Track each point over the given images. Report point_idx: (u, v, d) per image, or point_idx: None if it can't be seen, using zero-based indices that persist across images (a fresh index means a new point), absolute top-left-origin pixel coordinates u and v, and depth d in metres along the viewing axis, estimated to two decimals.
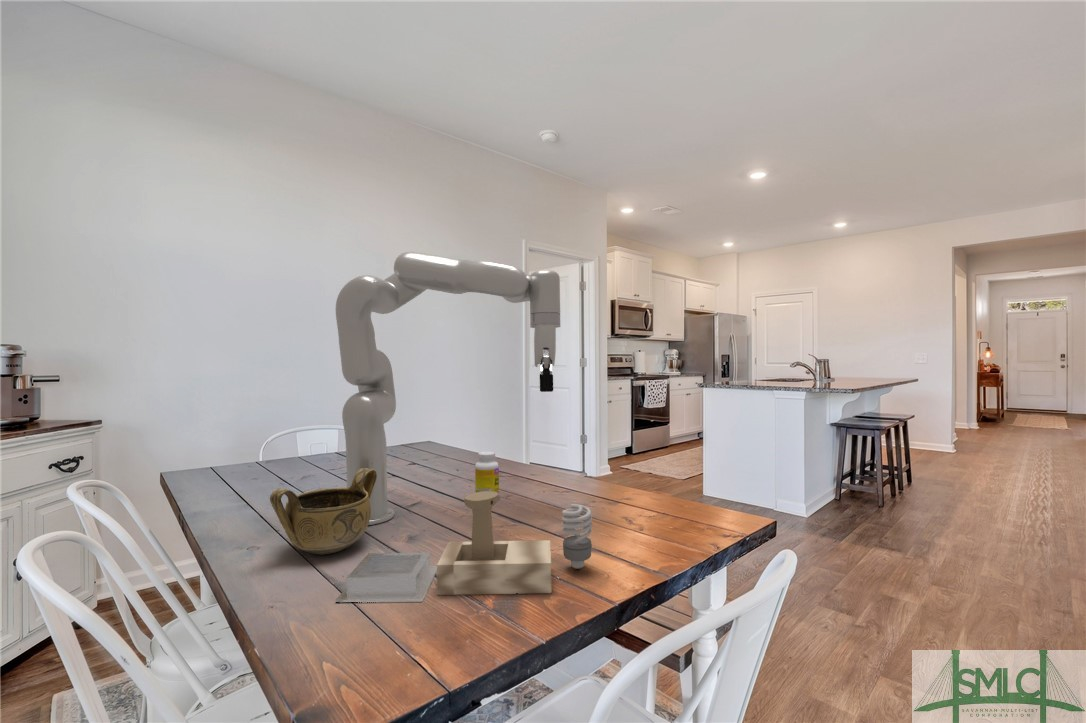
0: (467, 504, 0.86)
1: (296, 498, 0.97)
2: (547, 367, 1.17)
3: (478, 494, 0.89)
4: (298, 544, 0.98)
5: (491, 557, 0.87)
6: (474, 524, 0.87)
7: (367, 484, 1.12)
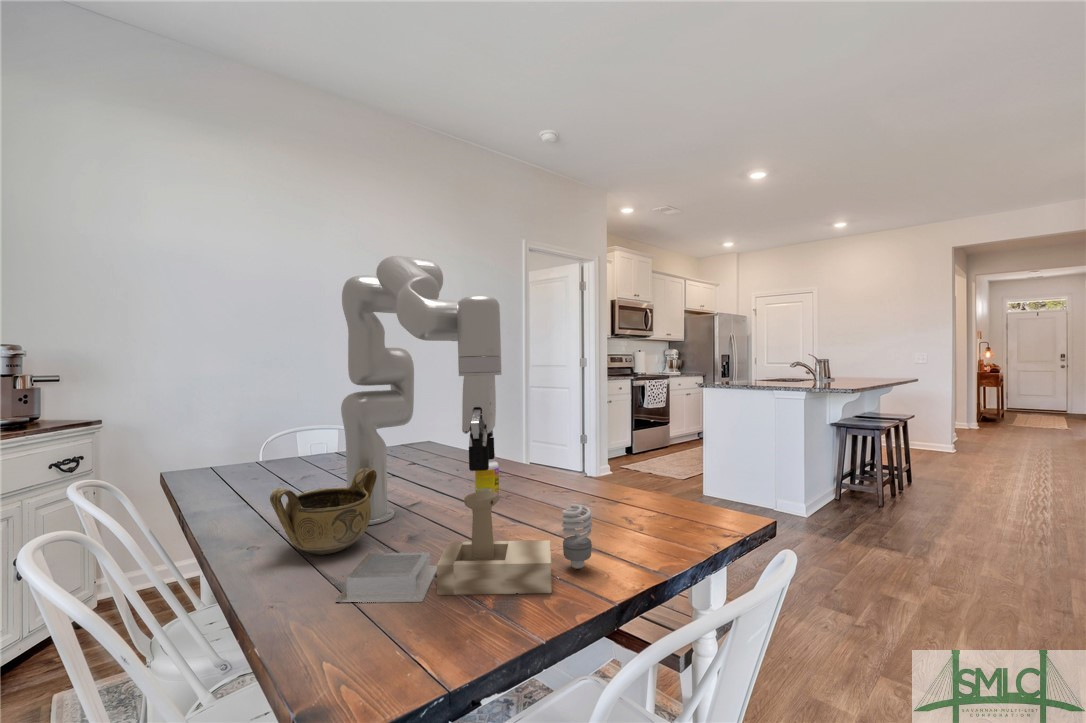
0: (467, 504, 0.86)
1: (296, 498, 0.97)
2: (477, 437, 0.81)
3: (478, 494, 0.89)
4: (298, 544, 0.98)
5: (491, 557, 0.87)
6: (474, 524, 0.87)
7: (367, 484, 1.12)
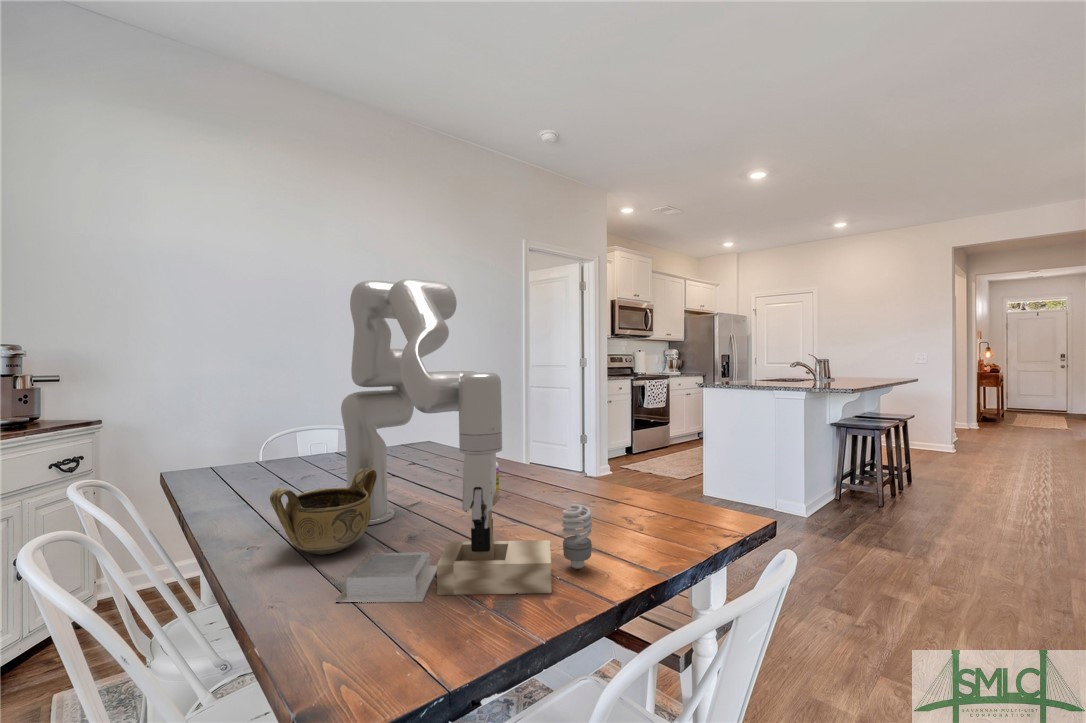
0: None
1: (296, 498, 0.97)
2: (480, 523, 0.84)
3: None
4: (298, 544, 0.98)
5: (491, 557, 0.87)
6: None
7: (367, 484, 1.12)
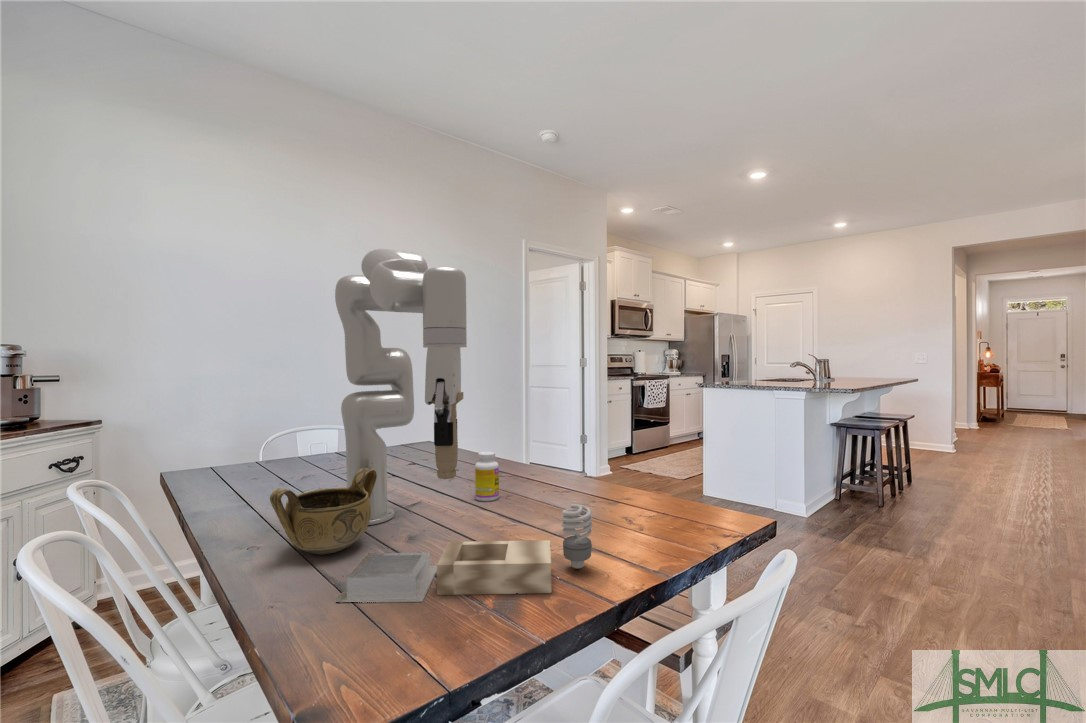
0: None
1: (296, 498, 0.97)
2: (442, 414, 0.83)
3: None
4: (298, 544, 0.98)
5: (455, 453, 0.87)
6: None
7: (367, 484, 1.12)
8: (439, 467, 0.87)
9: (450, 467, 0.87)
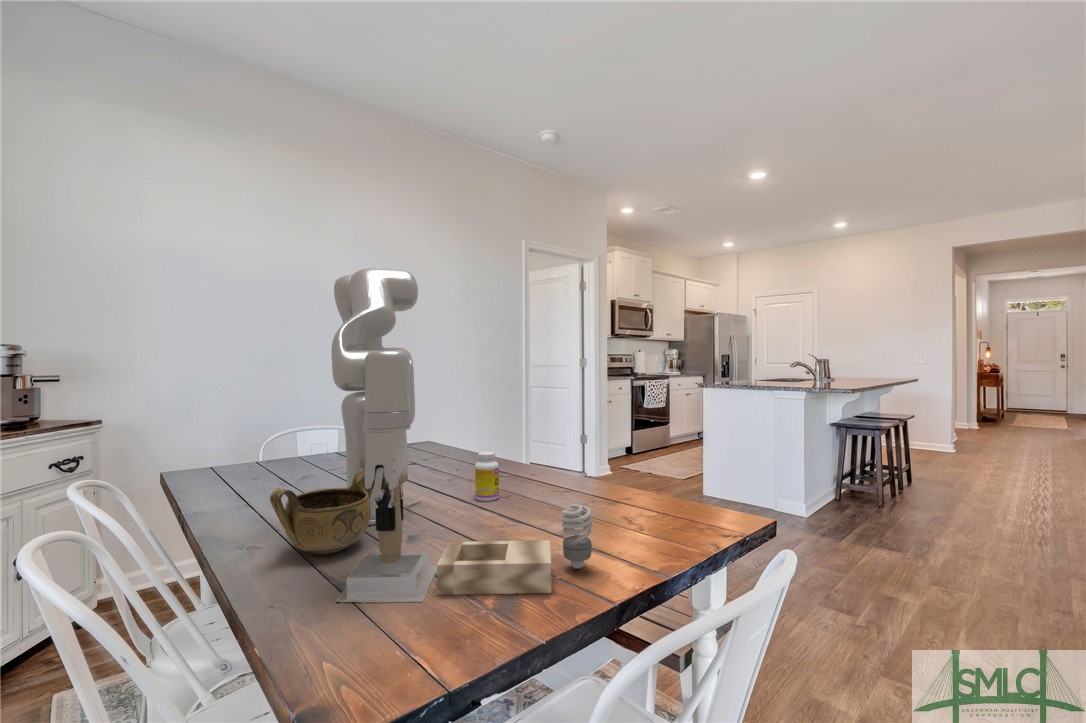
0: None
1: (296, 498, 0.97)
2: (382, 501, 0.83)
3: None
4: (298, 544, 0.98)
5: (398, 537, 0.86)
6: None
7: None
8: (382, 551, 0.86)
9: (393, 551, 0.86)
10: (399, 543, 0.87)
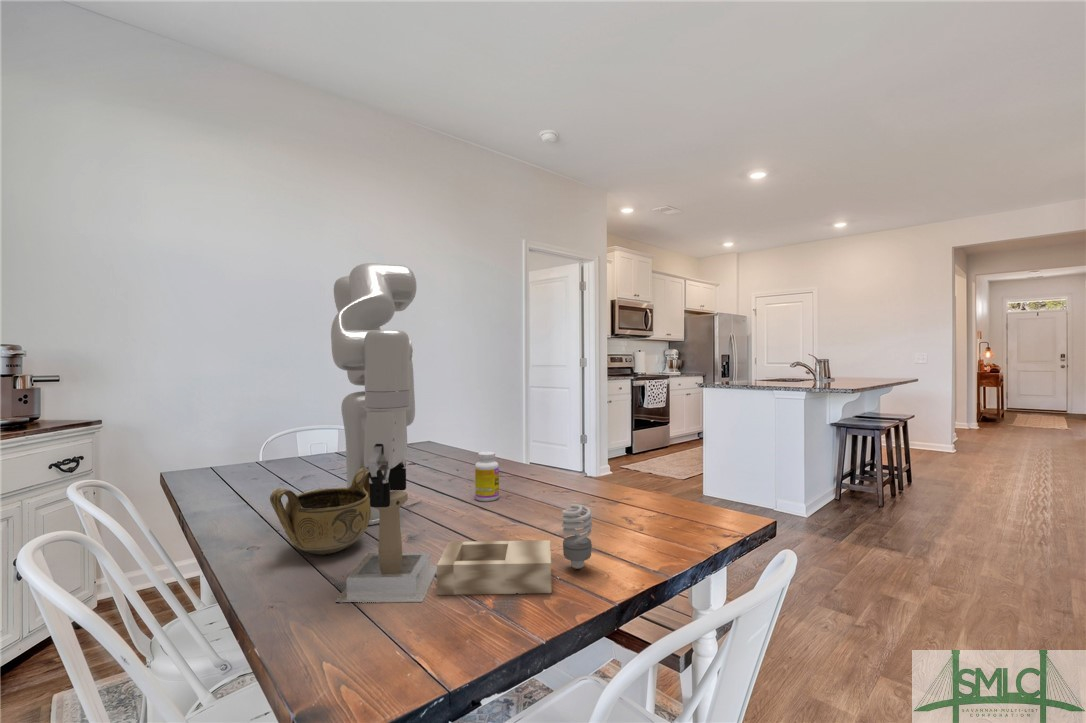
0: None
1: (296, 498, 0.97)
2: (376, 476, 0.80)
3: None
4: (298, 544, 0.98)
5: (398, 558, 0.87)
6: (380, 524, 0.86)
7: (367, 484, 1.12)
8: (382, 572, 0.86)
9: (393, 572, 0.86)
10: (399, 563, 0.87)
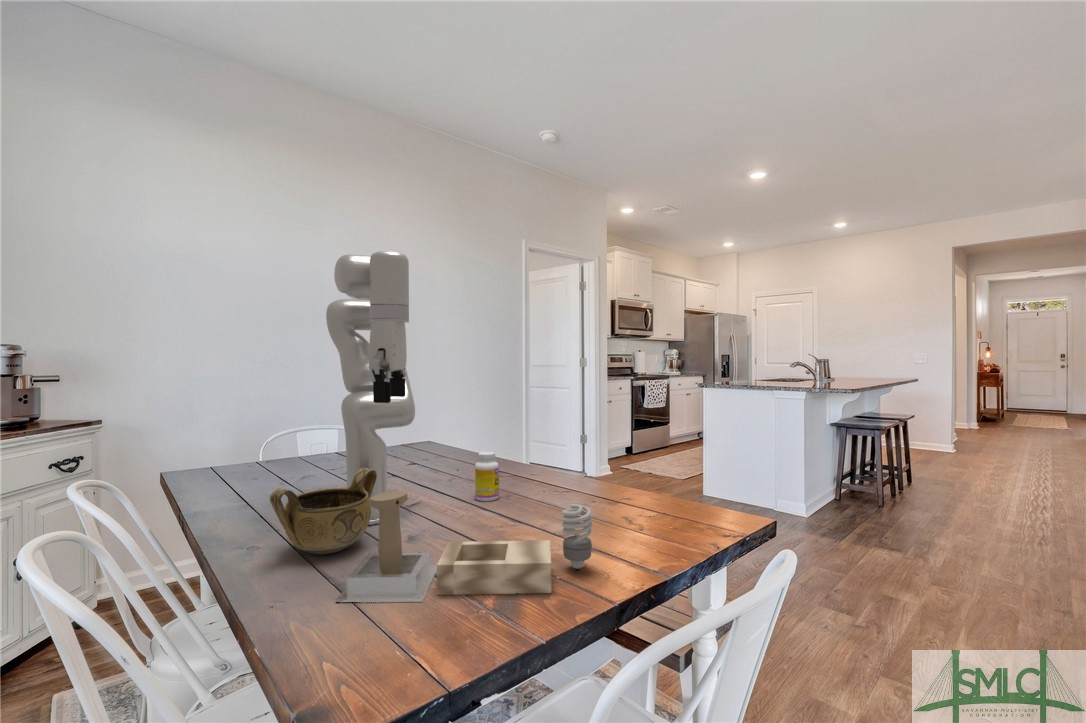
0: (371, 504, 0.85)
1: (296, 498, 0.97)
2: (378, 373, 0.93)
3: (386, 494, 0.88)
4: (298, 544, 0.98)
5: (398, 557, 0.87)
6: (380, 524, 0.86)
7: (367, 484, 1.12)
8: (382, 572, 0.86)
9: (393, 572, 0.86)
10: (399, 563, 0.87)
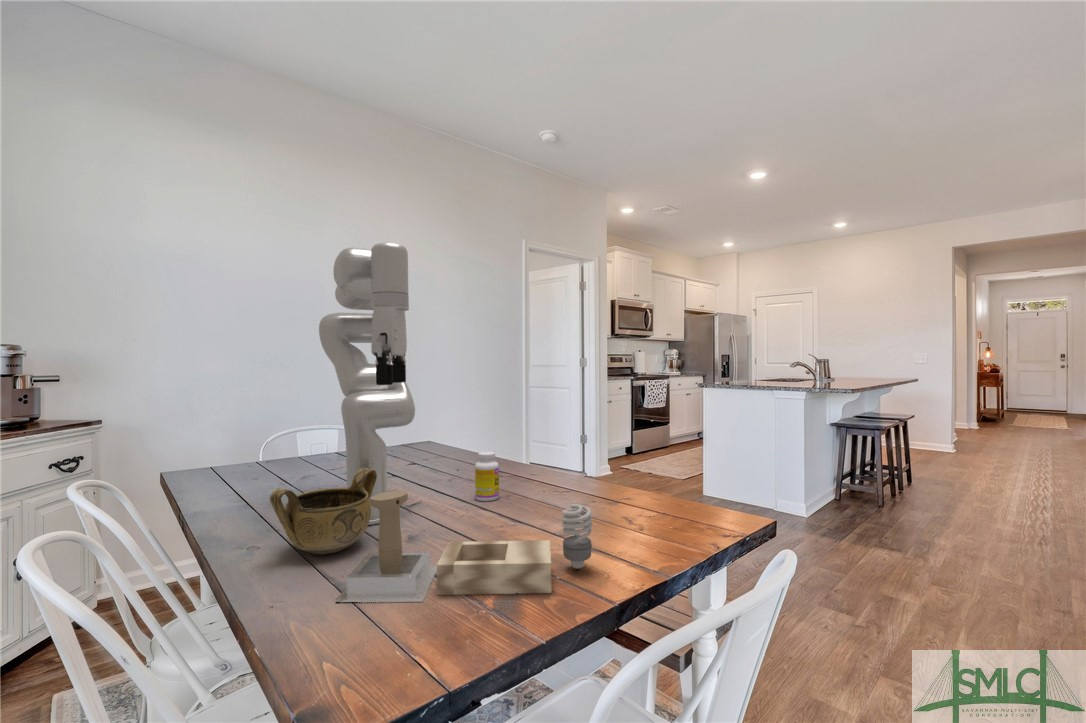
0: (372, 504, 0.85)
1: (296, 498, 0.97)
2: (381, 356, 0.99)
3: (386, 494, 0.89)
4: (298, 544, 0.98)
5: (398, 557, 0.87)
6: (380, 524, 0.86)
7: (367, 484, 1.12)
8: (382, 572, 0.86)
9: (393, 572, 0.86)
10: (399, 563, 0.87)
